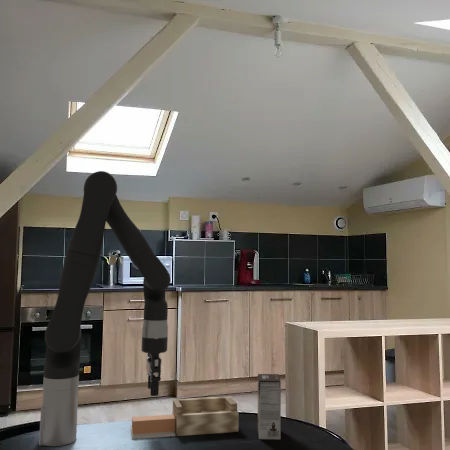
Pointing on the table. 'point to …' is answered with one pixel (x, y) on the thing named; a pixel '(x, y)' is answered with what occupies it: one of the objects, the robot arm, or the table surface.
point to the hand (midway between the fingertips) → (152, 391)
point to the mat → (151, 434)
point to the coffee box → (269, 406)
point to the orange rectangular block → (153, 424)
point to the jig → (205, 415)
